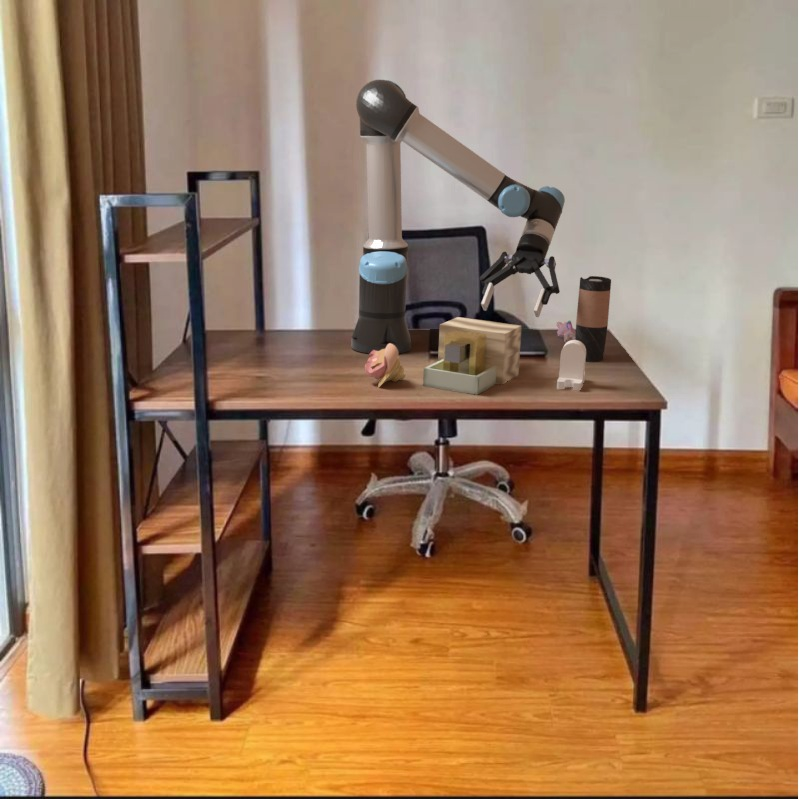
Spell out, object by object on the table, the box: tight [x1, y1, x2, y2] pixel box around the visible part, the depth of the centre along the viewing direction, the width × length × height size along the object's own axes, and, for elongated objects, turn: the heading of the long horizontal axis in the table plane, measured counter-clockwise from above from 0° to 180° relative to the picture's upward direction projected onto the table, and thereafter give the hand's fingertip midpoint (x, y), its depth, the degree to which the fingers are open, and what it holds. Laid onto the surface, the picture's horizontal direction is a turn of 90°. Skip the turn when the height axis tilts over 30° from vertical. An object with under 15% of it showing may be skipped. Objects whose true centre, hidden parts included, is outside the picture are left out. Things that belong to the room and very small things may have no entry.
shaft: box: [445, 342, 470, 363], centre depth 232 cm, size 28×4×4 cm, turn 152°
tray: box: [422, 359, 497, 396], centre depth 226 cm, size 13×10×4 cm
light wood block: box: [437, 316, 522, 385], centre depth 233 cm, size 10×16×12 cm, turn 62°
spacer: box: [443, 330, 486, 376], centre depth 226 cm, size 5×8×9 cm, turn 62°
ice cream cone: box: [364, 343, 406, 388], centre depth 225 cm, size 9×10×10 cm
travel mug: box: [575, 275, 612, 363], centre depth 250 cm, size 8×8×20 cm
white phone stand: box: [556, 340, 586, 391], centre depth 228 cm, size 5×10×10 cm, turn 165°
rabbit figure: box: [556, 320, 576, 344], centre depth 272 cm, size 6×6×15 cm
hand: (509, 310), depth 246 cm, fingers open, 13 cm apart
